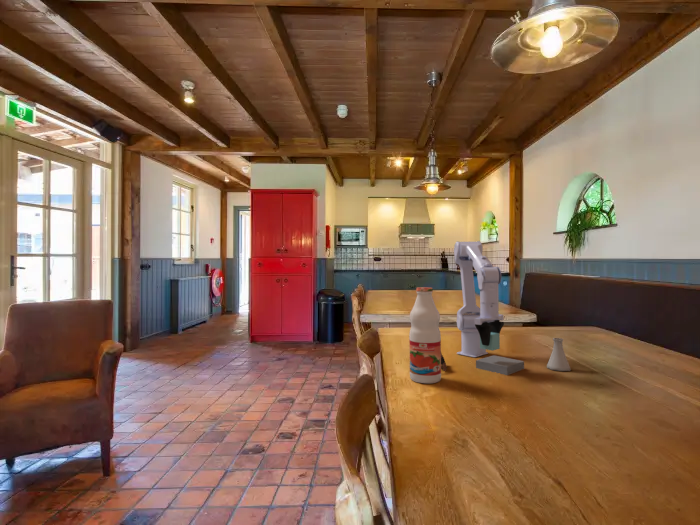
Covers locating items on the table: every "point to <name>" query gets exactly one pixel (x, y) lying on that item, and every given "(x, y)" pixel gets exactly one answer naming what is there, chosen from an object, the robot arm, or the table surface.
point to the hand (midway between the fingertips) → (489, 344)
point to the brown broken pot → (443, 363)
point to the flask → (558, 357)
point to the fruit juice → (425, 339)
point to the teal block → (492, 342)
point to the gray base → (500, 364)
